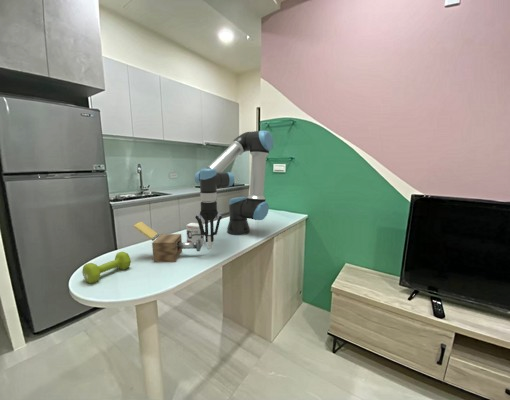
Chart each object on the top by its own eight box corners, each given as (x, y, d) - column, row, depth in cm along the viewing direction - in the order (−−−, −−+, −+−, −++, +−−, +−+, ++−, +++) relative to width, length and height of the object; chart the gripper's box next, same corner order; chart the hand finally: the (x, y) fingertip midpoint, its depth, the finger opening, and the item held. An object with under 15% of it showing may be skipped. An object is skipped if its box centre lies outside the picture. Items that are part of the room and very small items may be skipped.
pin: (201, 248, 112) (200, 238, 112) (199, 253, 107) (198, 241, 106) (176, 249, 112) (175, 238, 111) (172, 253, 106) (172, 242, 105)
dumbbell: (91, 286, 83) (89, 268, 82) (81, 281, 87) (78, 264, 86) (133, 268, 97) (132, 252, 96) (122, 264, 101) (121, 249, 100)
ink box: (186, 245, 125) (185, 224, 122) (191, 241, 129) (190, 222, 127) (200, 246, 122) (199, 226, 120) (204, 243, 127) (203, 223, 125)
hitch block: (182, 251, 115) (181, 234, 114) (175, 261, 104) (174, 242, 102) (162, 251, 115) (161, 234, 113) (153, 262, 103) (152, 242, 101)
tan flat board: (158, 236, 111) (159, 234, 111) (153, 241, 104) (154, 239, 104) (139, 222, 109) (140, 221, 109) (132, 226, 102) (134, 225, 102)
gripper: (223, 199, 110) (223, 245, 114) (196, 199, 109) (197, 245, 113) (221, 202, 103) (222, 251, 106) (193, 202, 102) (194, 251, 106)
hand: (209, 248), depth 110 cm, fingers closed
